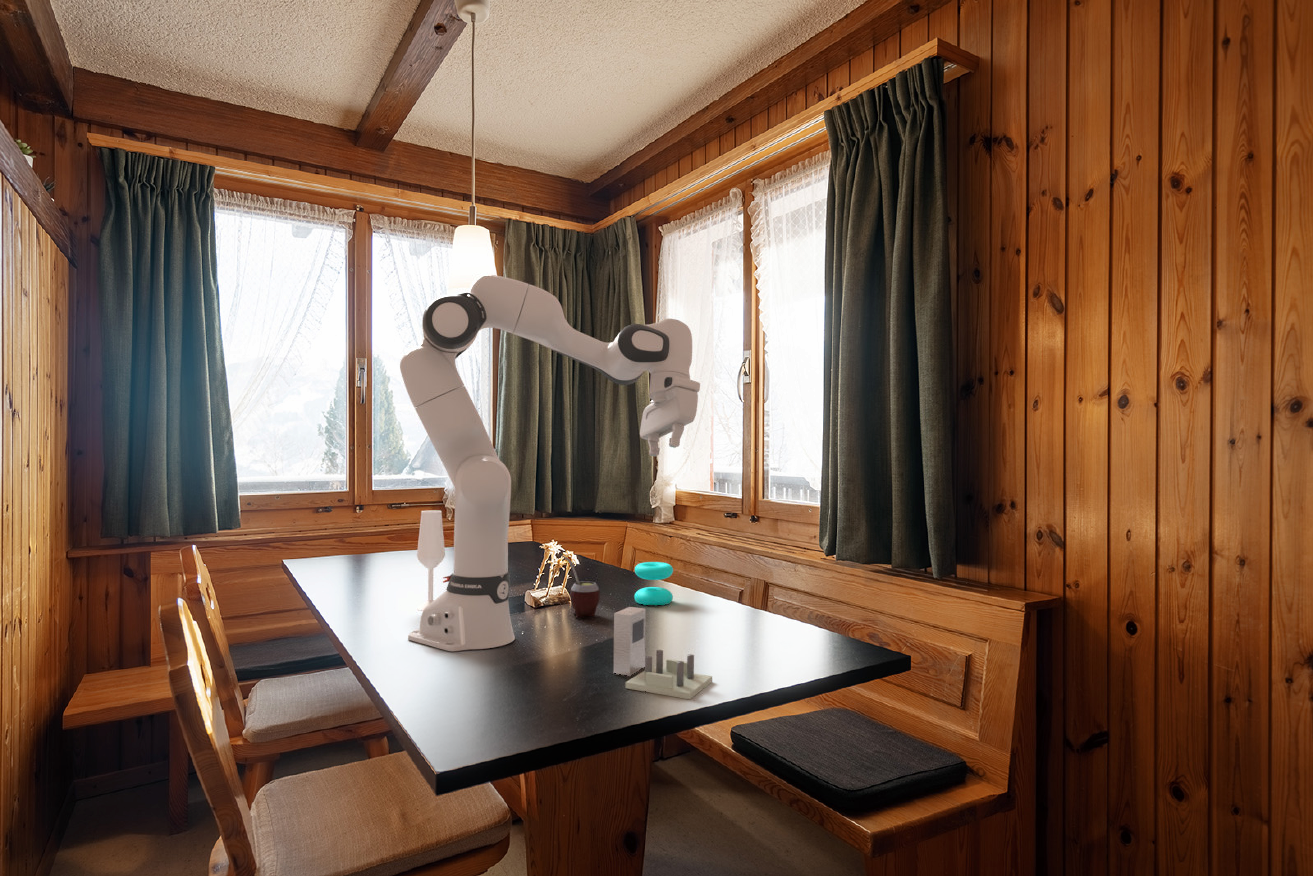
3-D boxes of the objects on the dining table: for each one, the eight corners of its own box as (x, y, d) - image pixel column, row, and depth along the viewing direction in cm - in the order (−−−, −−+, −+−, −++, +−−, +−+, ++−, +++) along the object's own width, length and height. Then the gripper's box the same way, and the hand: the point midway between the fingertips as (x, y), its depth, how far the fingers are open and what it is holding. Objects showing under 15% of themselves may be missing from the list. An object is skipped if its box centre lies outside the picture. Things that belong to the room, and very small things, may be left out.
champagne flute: (419, 605, 191) (420, 509, 191) (446, 604, 191) (447, 509, 191) (413, 611, 184) (414, 512, 184) (442, 610, 185) (443, 512, 185)
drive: (613, 673, 138) (614, 613, 138) (628, 664, 143) (629, 606, 143) (630, 676, 136) (630, 615, 136) (645, 667, 142) (645, 608, 142)
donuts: (675, 561, 201) (670, 568, 191) (675, 599, 201) (669, 608, 191) (638, 560, 202) (631, 566, 192) (638, 597, 202) (630, 606, 192)
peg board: (625, 688, 130) (625, 659, 130) (651, 672, 139) (651, 644, 139) (689, 699, 125) (690, 669, 125) (712, 681, 134) (712, 653, 134)
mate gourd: (605, 616, 182) (606, 553, 181) (585, 622, 175) (585, 557, 175) (580, 611, 186) (581, 550, 185) (560, 618, 179) (560, 554, 179)
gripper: (636, 400, 174) (630, 457, 170) (678, 374, 157) (672, 438, 153) (660, 406, 177) (655, 463, 173) (704, 381, 159) (699, 444, 155)
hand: (663, 451), depth 163 cm, fingers open, 8 cm apart
